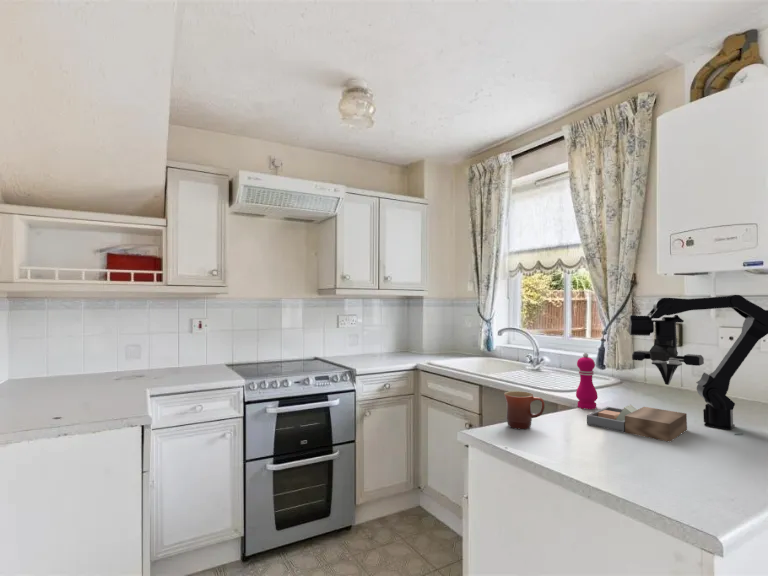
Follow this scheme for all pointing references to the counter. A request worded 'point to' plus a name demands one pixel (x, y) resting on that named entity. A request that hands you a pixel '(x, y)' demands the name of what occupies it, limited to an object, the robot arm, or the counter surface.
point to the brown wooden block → (656, 423)
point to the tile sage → (625, 412)
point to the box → (606, 420)
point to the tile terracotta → (608, 414)
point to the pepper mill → (586, 383)
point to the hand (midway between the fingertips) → (667, 384)
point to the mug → (521, 409)
